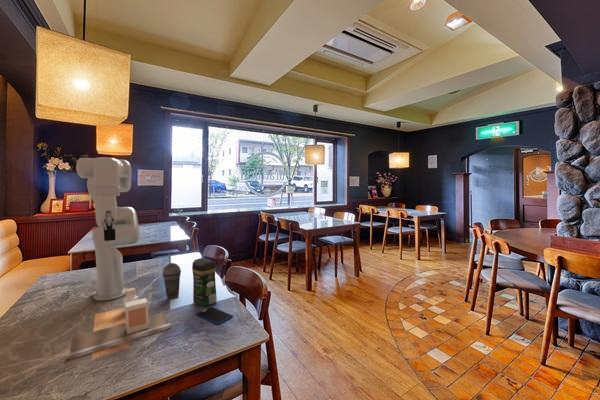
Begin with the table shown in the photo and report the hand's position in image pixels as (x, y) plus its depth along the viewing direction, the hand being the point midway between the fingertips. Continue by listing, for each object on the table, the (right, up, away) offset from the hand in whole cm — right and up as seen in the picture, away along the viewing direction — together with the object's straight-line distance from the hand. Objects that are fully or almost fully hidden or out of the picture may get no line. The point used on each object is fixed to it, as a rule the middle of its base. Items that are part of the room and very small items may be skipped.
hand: (109, 238), depth 95 cm
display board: (+12, -31, -10) cm, 34 cm away
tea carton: (+15, -29, -8) cm, 34 cm away
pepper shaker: (+5, -30, +5) cm, 31 cm away
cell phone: (+38, -31, +3) cm, 49 cm away
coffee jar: (+30, -30, +14) cm, 44 cm away
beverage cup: (+14, -29, +18) cm, 37 cm away
